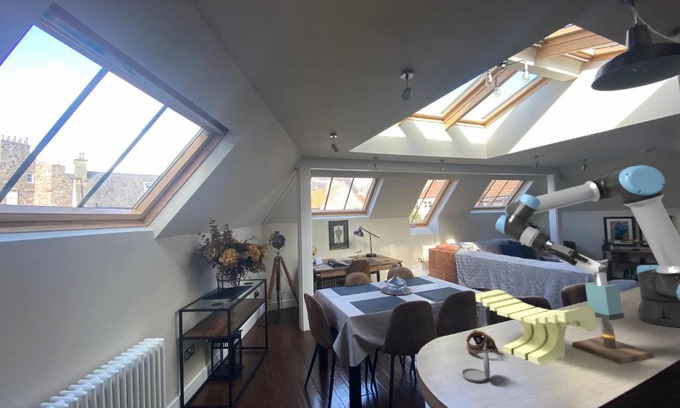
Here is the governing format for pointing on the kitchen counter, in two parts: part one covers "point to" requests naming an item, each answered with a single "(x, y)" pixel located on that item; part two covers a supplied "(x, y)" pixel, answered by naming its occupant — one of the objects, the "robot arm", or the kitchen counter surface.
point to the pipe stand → (610, 340)
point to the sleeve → (604, 298)
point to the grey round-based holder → (477, 374)
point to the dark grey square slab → (609, 316)
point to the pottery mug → (480, 342)
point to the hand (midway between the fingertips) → (598, 270)
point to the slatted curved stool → (537, 326)
